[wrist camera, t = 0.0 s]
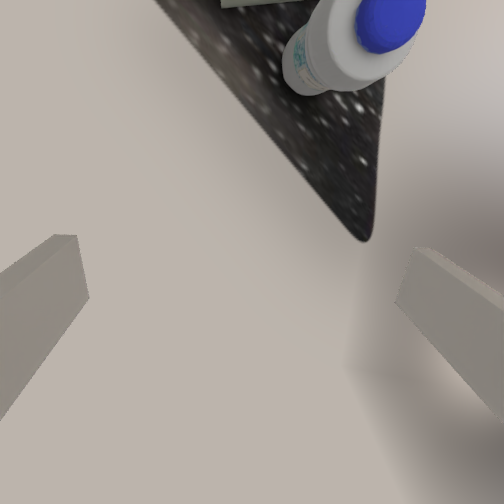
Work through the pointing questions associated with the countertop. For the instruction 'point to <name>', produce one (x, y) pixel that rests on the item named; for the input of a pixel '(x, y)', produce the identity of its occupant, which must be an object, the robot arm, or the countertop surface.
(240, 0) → the tote
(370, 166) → the countertop surface
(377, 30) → the bottle
